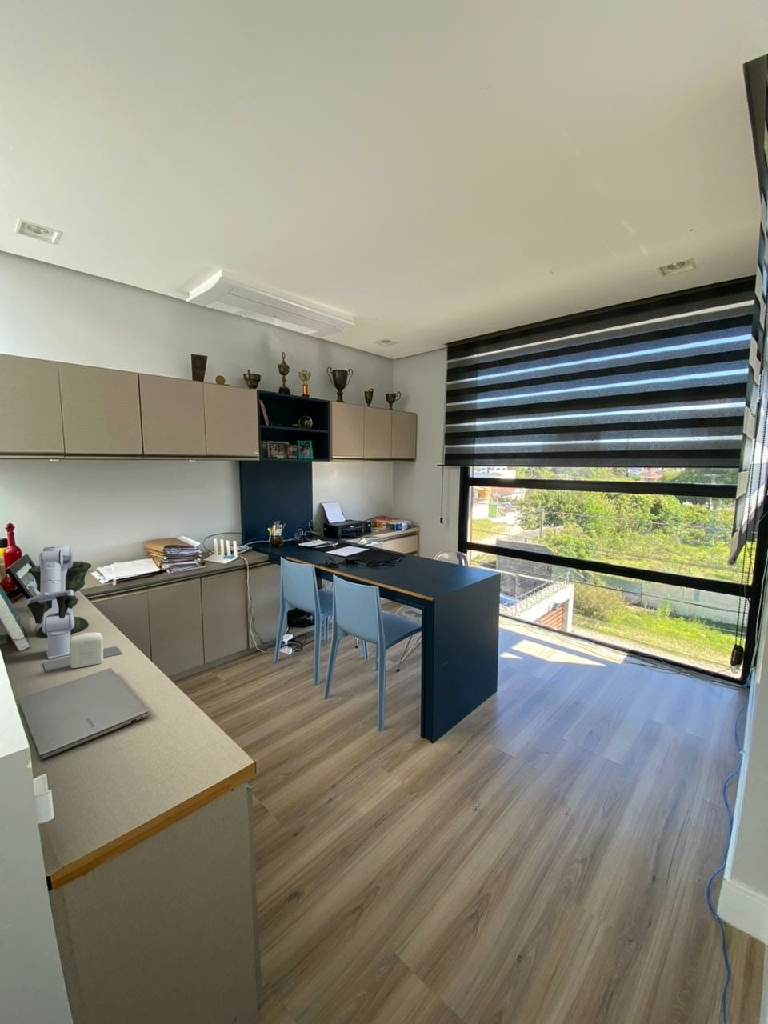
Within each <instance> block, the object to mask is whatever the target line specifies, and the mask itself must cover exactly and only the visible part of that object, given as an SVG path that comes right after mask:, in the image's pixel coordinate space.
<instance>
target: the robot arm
mask: <svg viewBox="0 0 768 1024" xmlns="http://www.w3.org/2000/svg"><path fill="white" fill-rule="evenodd" d="M38 554H39V555H38V562H39V565H40V571H41V587H40V592H39V595H38V594H37V595H36V596H34V597H31V598H30V597H29V598H27V599H26V605H27V608H28V609H29V611H30V612H31V614H32V616H33V619H34V623H35V624H37V625H38V624H41V626H42V631H43V632H44V633H46V635H47V636H48V637H47V649H46V650H45V654H46V657H47V659H48V660H51V659H54V658H60V657H63V656H68V655H69V656H70V641H71V634H70V630H71V629H73V628H74V617H75V616H74V611H73V608H72V609H70V608H68V607H69V605H70V603H71V602H72V600H73V598H71V596H74V595H75V594H74V590H66V573H67V569H69V568H70V567H72V564H73V562H74V546H72V545H61V546H60V545H59V546H58V545H57V546H56V545H52V546H44V548H42V552H39V553H38ZM50 600H52V608H51V609H49V608H48V610H46V611H45V612H44V609H45V606H46V602H47V601H50ZM44 602H45V603H44Z"/></svg>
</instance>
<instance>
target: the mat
mask: <svg viewBox="0 0 768 1024" xmlns="http://www.w3.org/2000/svg"><path fill="white" fill-rule="evenodd" d="M122 654H123V652H122V651H121V650H120V648H118V646H117V645H114V646H109V647H105V648H104V647H103V659H107V658H110V657H111V658H112V657H115V656H119V655H122ZM42 665H43V669H44V671H45V672H46V673H50V672H53V671H58V670H62V669H67V668H71V667H70V656H66V657H63V658H62V657H61V658H57V659H53V660H49V661H48V660H47V661H45V662H42Z"/></svg>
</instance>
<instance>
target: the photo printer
mask: <svg viewBox="0 0 768 1024" xmlns="http://www.w3.org/2000/svg"><path fill="white" fill-rule="evenodd" d="M70 639H71V641H70V654H69V657H70V667H69V668H71V669H76V668H77V669H78V668H83V667H89V666H94V665H100V664H102V663H104V658H103V649H104V638H103V636H102V633H101V632H84V633H81V634H76V635H74V636H71V637H70Z"/></svg>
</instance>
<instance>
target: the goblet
mask: <svg viewBox="0 0 768 1024" xmlns="http://www.w3.org/2000/svg"><path fill="white" fill-rule="evenodd" d="M91 567H92V564H91V563H90V562H87V561H73V564H72V567H70V568H69V569H67V573H66V590H74V596H71V598H73V600H72V602H71V603H70V605H69V607H68V608H70V609H72V610H73V608H74V607H75V606H76V605H77V604H78V603H79V598H78V597H77V596H76V595H75V594H76V592H78V591H79V590H81V589H82V588H83V587H85V584H86V580H85V579H86V575H87V572H88V571H89V569H91ZM27 572H28V574H30V575H32V576H33V578H34V580H35V583H36V590H37V592H39V593H40V587H41V571H40V564H39V565H36V566H33V567H30V568H29V569H28V570H27ZM45 606H46V608H47V609H48V610H49V609H51V608H52V600H50V601H45ZM89 626H90V624H89V622H88V621H87V620H86V619H85V618H84V617H80V616H74V628H73V629H71V630H70V635H72V634H75V633H78V632H81V631H83V630H85V629H87V628H88V627H89ZM36 636H38V637H39V638H48V636H47V635H46V633H44V632H43V631H42V625H41V626H40V627H39V628H38V630H37V632H36Z"/></svg>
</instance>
